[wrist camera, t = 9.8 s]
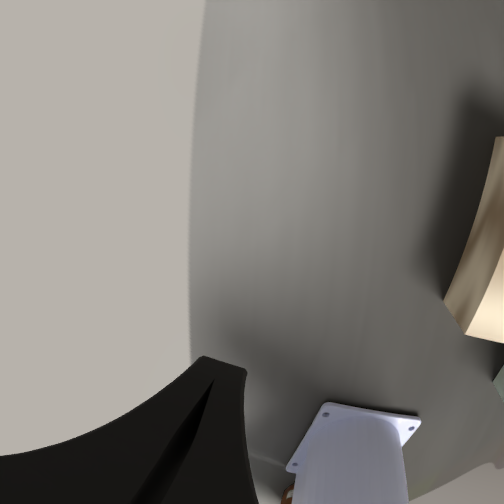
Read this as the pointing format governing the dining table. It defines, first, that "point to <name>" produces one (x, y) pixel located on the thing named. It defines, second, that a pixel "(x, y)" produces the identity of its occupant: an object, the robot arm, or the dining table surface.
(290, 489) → the food container
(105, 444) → the robot arm
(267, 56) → the dining table surface
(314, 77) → the dining table surface
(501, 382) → the sage board
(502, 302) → the maple block
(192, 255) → the dining table surface
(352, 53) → the dining table surface
